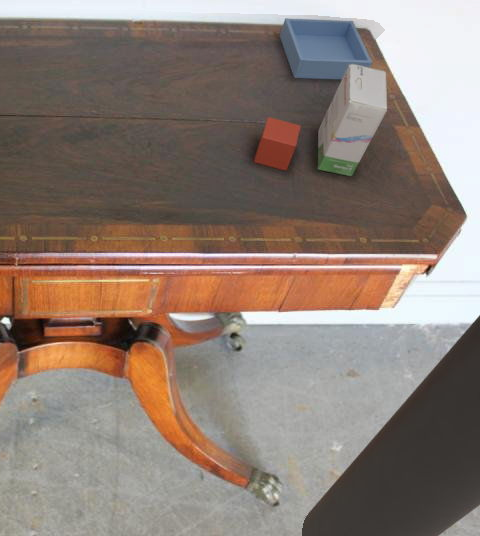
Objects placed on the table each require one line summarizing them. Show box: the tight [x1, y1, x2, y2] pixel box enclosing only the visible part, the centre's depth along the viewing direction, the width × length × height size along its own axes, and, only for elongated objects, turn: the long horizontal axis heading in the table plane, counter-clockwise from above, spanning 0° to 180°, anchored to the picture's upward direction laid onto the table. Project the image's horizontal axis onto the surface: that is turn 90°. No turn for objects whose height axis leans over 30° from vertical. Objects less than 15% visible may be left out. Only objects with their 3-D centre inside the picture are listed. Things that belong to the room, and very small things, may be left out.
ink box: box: [316, 64, 388, 177], centre depth 95 cm, size 9×5×12 cm, turn 167°
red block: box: [253, 116, 302, 172], centre depth 97 cm, size 4×4×4 cm
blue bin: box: [279, 17, 373, 81], centre depth 113 cm, size 11×11×3 cm
